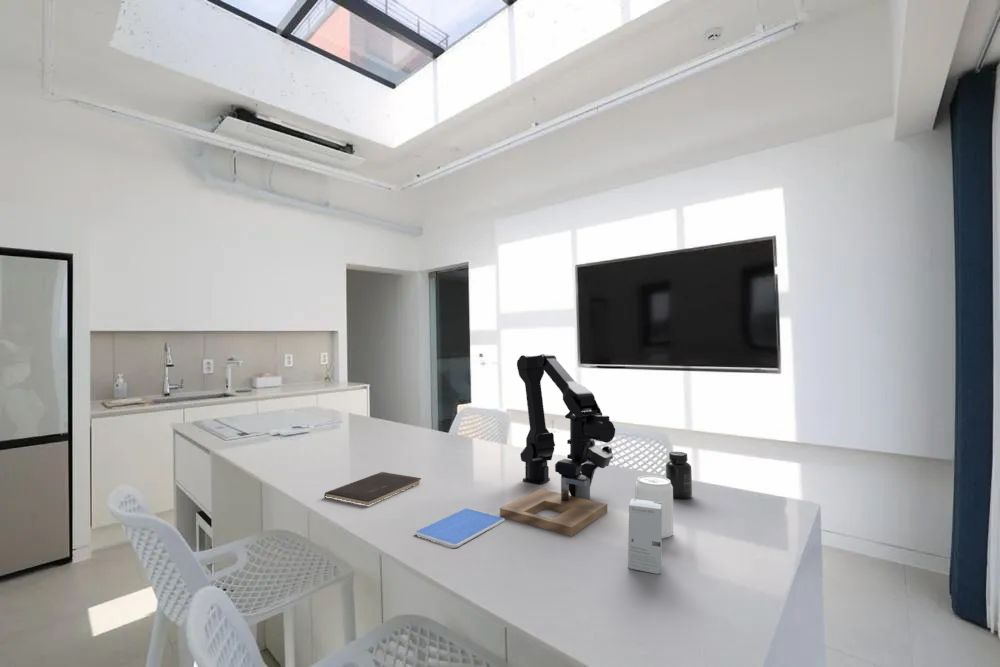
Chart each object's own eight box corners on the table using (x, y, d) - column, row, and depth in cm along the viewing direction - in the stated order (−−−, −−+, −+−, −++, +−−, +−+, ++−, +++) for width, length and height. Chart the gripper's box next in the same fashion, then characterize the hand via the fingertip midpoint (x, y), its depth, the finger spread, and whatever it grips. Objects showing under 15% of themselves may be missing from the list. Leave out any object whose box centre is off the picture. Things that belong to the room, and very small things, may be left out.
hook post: (559, 500, 120) (559, 477, 121) (563, 498, 122) (563, 475, 122) (584, 505, 116) (584, 482, 116) (587, 503, 118) (587, 480, 118)
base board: (500, 516, 115) (500, 508, 115) (540, 496, 130) (540, 489, 130) (571, 536, 103) (571, 527, 103) (607, 511, 118) (607, 503, 118)
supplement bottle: (687, 492, 133) (687, 450, 134) (695, 500, 127) (695, 456, 127) (663, 491, 134) (663, 450, 134) (669, 499, 127) (669, 455, 128)
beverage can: (654, 543, 99) (654, 487, 99) (628, 529, 106) (627, 477, 107) (681, 536, 103) (680, 481, 103) (653, 523, 110) (653, 473, 110)
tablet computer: (466, 511, 119) (466, 506, 119) (506, 522, 112) (506, 517, 112) (412, 537, 103) (412, 531, 103) (455, 552, 96) (455, 545, 96)
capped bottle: (568, 499, 127) (568, 476, 127) (576, 494, 131) (576, 472, 131) (584, 503, 124) (584, 480, 124) (593, 498, 128) (593, 475, 128)
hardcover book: (421, 485, 141) (421, 478, 141) (368, 509, 121) (368, 500, 121) (380, 478, 148) (380, 471, 148) (324, 500, 128) (324, 491, 128)
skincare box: (627, 569, 88) (627, 504, 88) (630, 559, 92) (629, 497, 92) (661, 575, 85) (661, 509, 86) (662, 564, 90) (662, 501, 90)
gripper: (592, 445, 116) (592, 508, 116) (621, 434, 131) (621, 489, 130) (553, 440, 123) (554, 499, 122) (585, 430, 138) (585, 482, 137)
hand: (580, 492), depth 128 cm, fingers open, 8 cm apart
